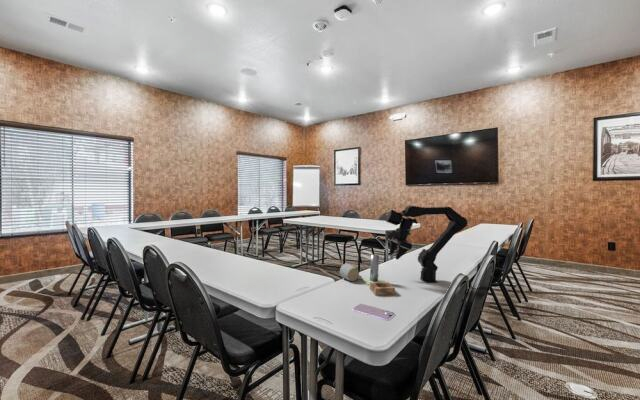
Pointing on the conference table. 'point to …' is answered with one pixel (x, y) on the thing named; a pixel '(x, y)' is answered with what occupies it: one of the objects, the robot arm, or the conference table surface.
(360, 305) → the mobile phone
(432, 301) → the conference table surface
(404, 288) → the conference table surface
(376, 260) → the peg
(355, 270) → the ceramic mug
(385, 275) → the conference table surface
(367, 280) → the coaster
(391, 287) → the wooden peg socket
